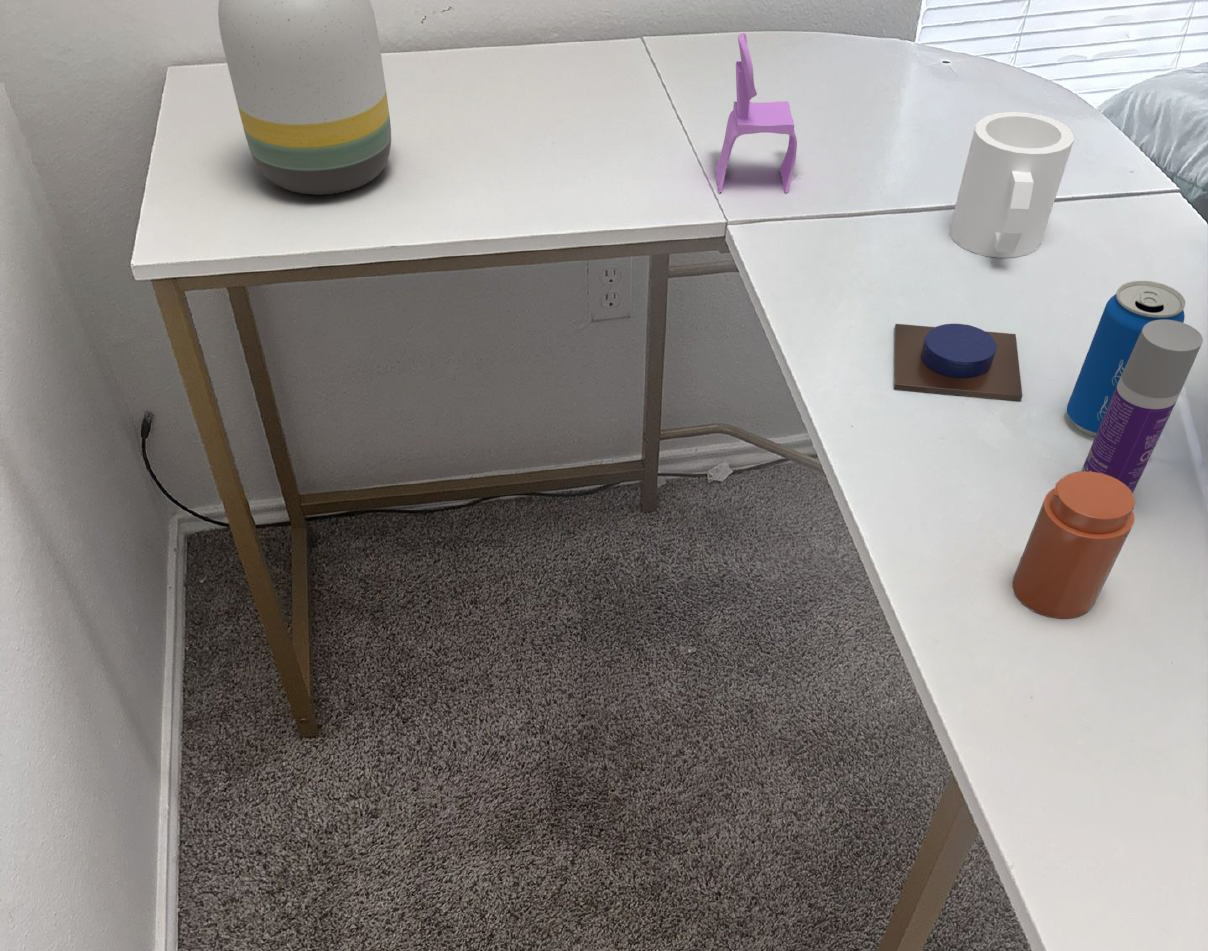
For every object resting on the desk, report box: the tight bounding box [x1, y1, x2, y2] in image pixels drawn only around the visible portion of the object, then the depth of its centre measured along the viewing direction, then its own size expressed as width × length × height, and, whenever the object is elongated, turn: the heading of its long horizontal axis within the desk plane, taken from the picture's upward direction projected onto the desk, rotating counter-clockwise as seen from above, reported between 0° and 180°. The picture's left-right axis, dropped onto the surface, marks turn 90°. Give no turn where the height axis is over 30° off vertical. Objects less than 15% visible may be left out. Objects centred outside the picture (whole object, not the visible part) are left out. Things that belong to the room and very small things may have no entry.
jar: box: [1011, 471, 1136, 619], centre depth 84 cm, size 7×7×9 cm
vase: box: [217, 0, 392, 196], centre depth 122 cm, size 17×17×24 cm
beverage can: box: [1066, 280, 1186, 438], centre depth 97 cm, size 6×6×12 cm
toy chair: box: [714, 32, 798, 194], centre depth 125 cm, size 8×9×15 cm
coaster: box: [893, 323, 1023, 402], centre depth 107 cm, size 12×11×1 cm
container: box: [1080, 320, 1204, 494], centre depth 89 cm, size 5×5×15 cm
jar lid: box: [921, 323, 997, 378], centre depth 106 cm, size 7×7×2 cm
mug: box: [949, 111, 1075, 259], centre depth 118 cm, size 14×10×11 cm
